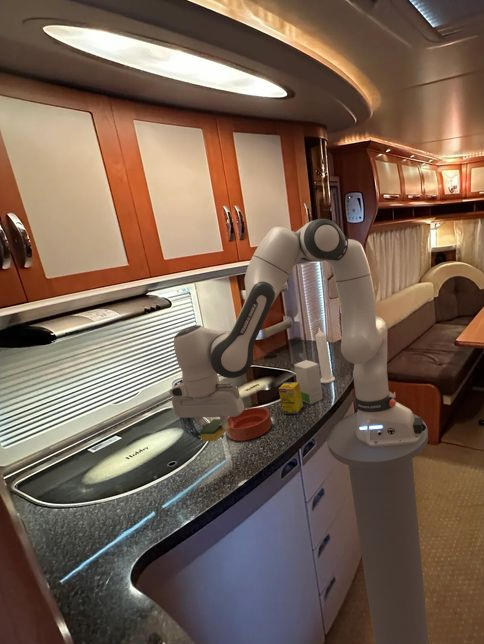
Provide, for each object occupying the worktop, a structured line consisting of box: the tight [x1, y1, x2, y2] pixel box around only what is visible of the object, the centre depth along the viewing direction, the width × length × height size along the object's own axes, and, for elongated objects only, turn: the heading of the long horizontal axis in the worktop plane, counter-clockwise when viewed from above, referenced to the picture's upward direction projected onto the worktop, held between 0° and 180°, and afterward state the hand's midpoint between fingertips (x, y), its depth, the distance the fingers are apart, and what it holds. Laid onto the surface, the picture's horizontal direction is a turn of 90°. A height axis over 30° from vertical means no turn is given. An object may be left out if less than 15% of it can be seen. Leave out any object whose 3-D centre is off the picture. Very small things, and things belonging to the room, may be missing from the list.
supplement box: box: [278, 381, 304, 416], centre depth 142 cm, size 6×6×11 cm
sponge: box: [199, 418, 229, 442], centre depth 106 cm, size 4×7×3 cm, turn 169°
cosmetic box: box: [293, 359, 324, 405], centre depth 150 cm, size 8×7×16 cm
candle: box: [314, 327, 336, 384], centre depth 166 cm, size 7×7×25 cm
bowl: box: [226, 406, 273, 442], centre depth 132 cm, size 15×15×5 cm
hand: (214, 429), depth 106 cm, fingers closed on sponge, 4 cm apart
